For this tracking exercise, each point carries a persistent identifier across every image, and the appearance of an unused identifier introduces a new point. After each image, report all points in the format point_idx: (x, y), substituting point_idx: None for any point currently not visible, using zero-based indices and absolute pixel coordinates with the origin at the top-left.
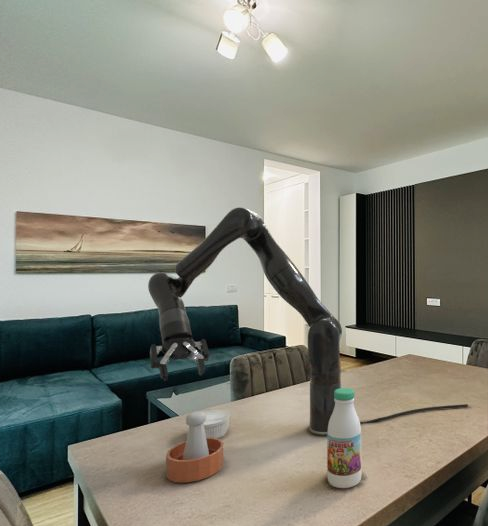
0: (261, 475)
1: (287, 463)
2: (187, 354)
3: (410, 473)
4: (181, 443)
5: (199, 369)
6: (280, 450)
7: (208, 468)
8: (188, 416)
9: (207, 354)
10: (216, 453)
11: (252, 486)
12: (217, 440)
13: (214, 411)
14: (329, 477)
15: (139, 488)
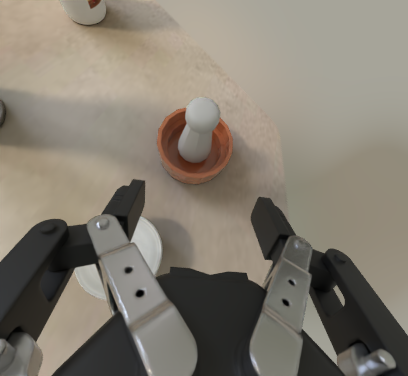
0: (144, 84)
1: (104, 81)
2: (170, 270)
3: None
4: (204, 173)
5: (140, 201)
6: (85, 114)
7: None
8: (218, 111)
9: (53, 224)
10: (181, 109)
11: (164, 74)
12: (160, 143)
13: (94, 281)
14: (103, 7)
15: (251, 160)
